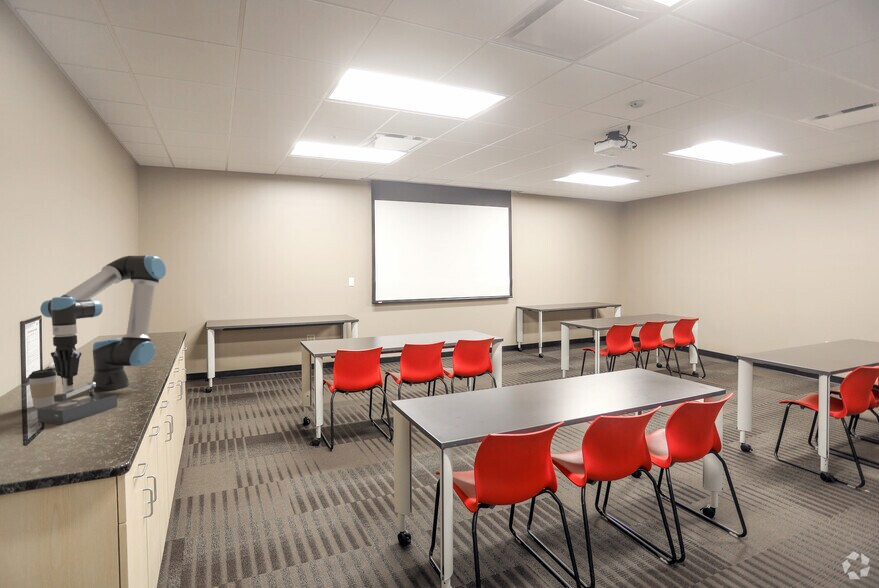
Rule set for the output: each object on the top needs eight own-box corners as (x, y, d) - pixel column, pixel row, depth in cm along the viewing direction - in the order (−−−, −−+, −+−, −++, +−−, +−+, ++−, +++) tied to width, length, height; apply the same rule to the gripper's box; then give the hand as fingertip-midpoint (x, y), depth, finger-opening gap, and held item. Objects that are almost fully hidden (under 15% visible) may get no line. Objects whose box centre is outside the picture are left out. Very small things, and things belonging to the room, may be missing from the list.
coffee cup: (41, 409, 188) (39, 373, 187) (24, 408, 190) (21, 372, 189) (63, 402, 197) (61, 368, 196) (46, 401, 199) (44, 367, 198)
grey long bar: (89, 386, 192) (89, 381, 192) (97, 386, 193) (97, 381, 193) (54, 401, 171) (53, 395, 171) (62, 401, 172) (62, 395, 172)
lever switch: (94, 404, 194) (93, 386, 193) (117, 406, 191) (116, 387, 191) (36, 422, 172) (35, 401, 171) (62, 424, 169) (60, 403, 169)
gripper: (42, 336, 183) (45, 394, 184) (68, 337, 180) (71, 396, 181) (61, 333, 190) (65, 390, 191) (87, 334, 187) (90, 391, 188)
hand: (68, 393), depth 186 cm, fingers closed
